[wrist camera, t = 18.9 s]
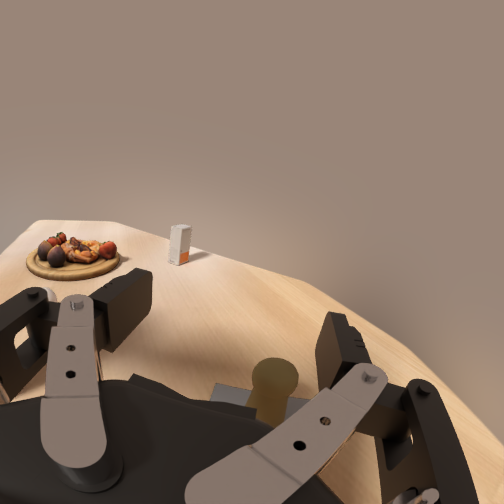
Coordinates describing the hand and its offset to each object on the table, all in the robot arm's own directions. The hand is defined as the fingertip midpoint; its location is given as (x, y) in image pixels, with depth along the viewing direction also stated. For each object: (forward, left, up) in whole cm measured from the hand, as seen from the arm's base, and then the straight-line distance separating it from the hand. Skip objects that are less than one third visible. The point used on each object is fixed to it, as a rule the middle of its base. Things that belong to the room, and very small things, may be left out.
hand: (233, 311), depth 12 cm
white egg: (-42, +23, -25) cm, 54 cm away
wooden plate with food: (-58, +51, -26) cm, 81 cm away
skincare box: (-28, +70, -25) cm, 79 cm away
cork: (+4, +13, -24) cm, 28 cm away
